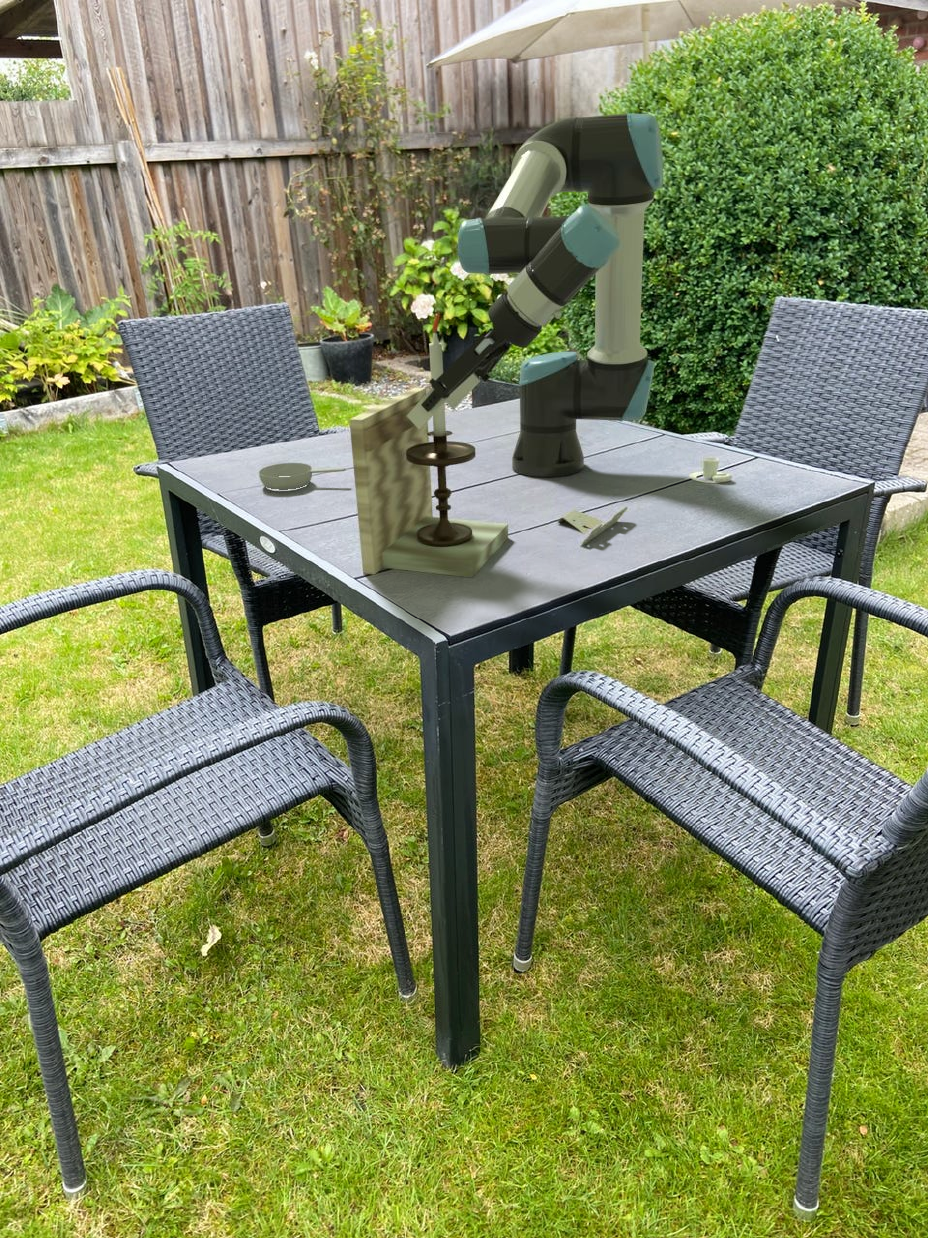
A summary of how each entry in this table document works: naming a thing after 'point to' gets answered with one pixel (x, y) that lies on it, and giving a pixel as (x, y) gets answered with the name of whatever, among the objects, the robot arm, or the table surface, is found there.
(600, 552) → the table surface
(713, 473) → the teacup and saucer
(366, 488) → the pale wooden blocky structure
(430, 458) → the candlestick
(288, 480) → the small pan
